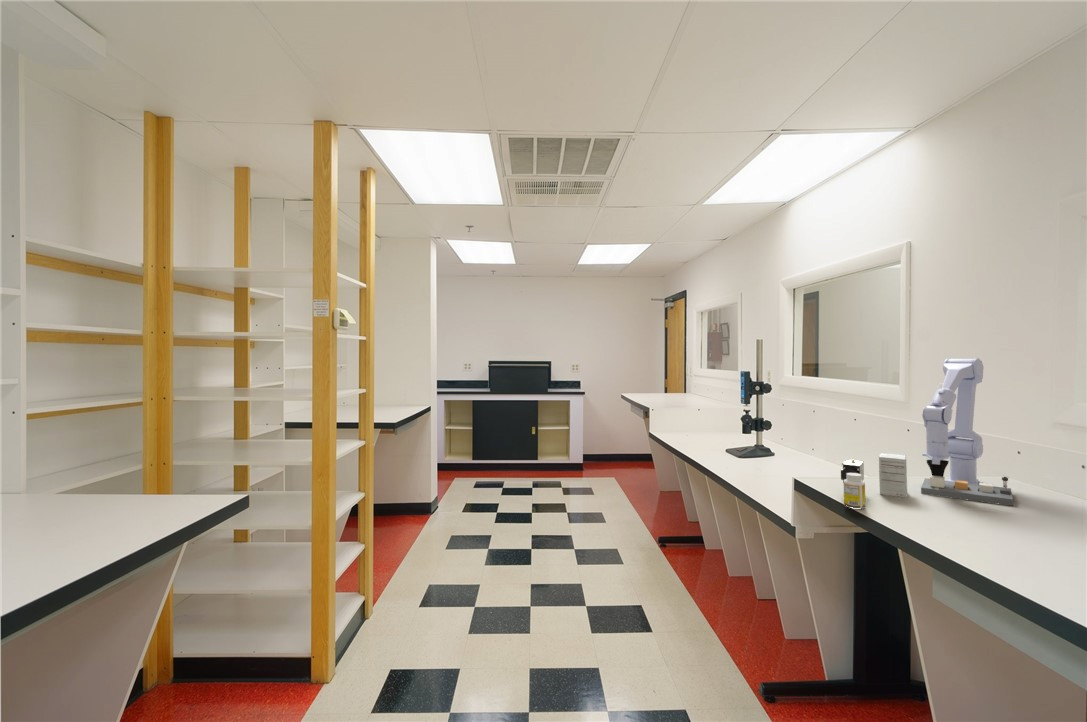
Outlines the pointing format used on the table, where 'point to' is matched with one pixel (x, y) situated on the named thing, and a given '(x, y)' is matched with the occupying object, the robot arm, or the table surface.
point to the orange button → (961, 484)
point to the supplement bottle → (854, 491)
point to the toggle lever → (1005, 481)
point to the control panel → (969, 492)
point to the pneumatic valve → (852, 468)
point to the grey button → (986, 487)
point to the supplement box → (893, 474)
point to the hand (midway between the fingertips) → (937, 482)
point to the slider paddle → (937, 481)
